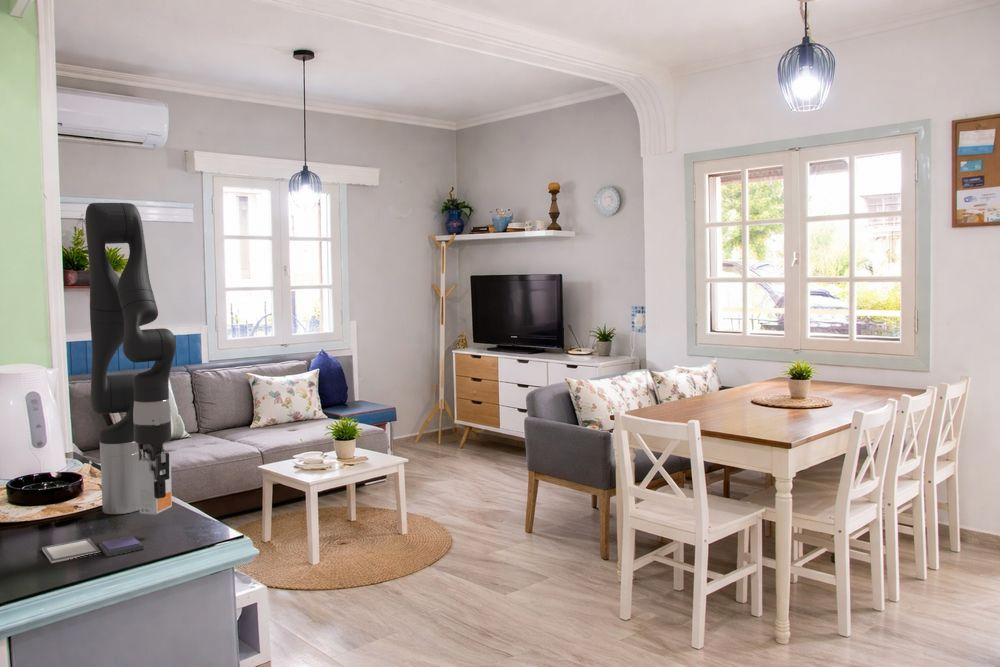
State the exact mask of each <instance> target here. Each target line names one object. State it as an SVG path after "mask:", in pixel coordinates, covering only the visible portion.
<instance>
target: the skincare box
mask: <svg viewBox="0 0 1000 667" xmlns="http://www.w3.org/2000/svg"><path fill="white" fill-rule="evenodd" d="M171 456H172V455H171V454H169V476H170V477H169V479H168V480H165V486H166V496H165V497H164V498H159V499H156V498H155V497H154V480H153V474H152V473H151V472H150V471H149V462H148V460H146V458H144V459H141V460H139V461H138V472H139V510H138V511H139V514H142V515H154V516H155V515H156V516H157V515H158V514H160V513H162V512H164V511H166V510H168V509H171V507H173V505H172V504H173V503H172V500H173V498H172V496H173V495H172V462H171V461H172V460H171ZM152 465H153V467H156V461H152ZM160 475H162V472H161V471H160Z"/></svg>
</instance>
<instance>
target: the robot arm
mask: <svg viewBox="0 0 1000 667" xmlns="http://www.w3.org/2000/svg"><path fill="white" fill-rule="evenodd" d="M84 218H85V220H84V221H85V233H86V234H85V235H86V246H87V256H88V263H89V264H88V266H89V321H90V322H89V323H90V324H89V325H90V336H91V373H90V374H91V377H90V380H91V381H90V402H91V403H90V404H91V407H92V409H93V410H92V411H93V412H94V413H95V414H98V415H109V414H110V415H111V414H122V413H125V415H124V417H123V418H121V420H118V421H117V422H115V423H113V424H111V425H108V426H107V427H104V428H102V429H101V430H100V431H99V453H100V454H99V456H100V457H99V458H100V475H101V476H100V479H101V480H100V481H101V482H100V483H101V502H102V503H101V504H102V512H103V513H104V514H107V515H122V514H129V513H135V512H137V511H139V472H138V461H139V460H141V459H144V458H146V460H148V462H149V471H150V472H151V473H152V474H153V480H154V497H155V498H156V499H159V498H164V497H165V496H166V486H165V480H168V479H169V477H170V476H169V455H170V453H169V452H166V450H165V449H164V443H167V442H169V441H171V439H172V418H171V416H172V415H171V414H172V413H171V412H172V410H171V402H170V387H169V379H170V375H171V374H170V373H171V369H172V365H173V361H174V357H175V354H176V351H177V350H176V349H177V340H176V337H175V334H174V333H173V332H172V331H171V330H170V329H168V328H164V327H163V328H148V329H147V328H145V329H141V328H140V327H142V326H145V325H148V324H151V323H153V322H154V321H155V320H157V319H158V317H159V309H158V306H157V302H156V300H155V295H154V291H153V289H152V284H151V281H150V280H151V279H150V275H149V268H148V258H147V250H146V242H145V234H144V228H143V227H144V226H143V223H142V217H141V214H140V211H139V209H138V207H137V206H136V205H135V204H133V203H131V202H92V203H90V204H88V205H87V207H86V210H85V217H84ZM106 244H127V245H128V248H129V255H128V259H127V262H126V264H125V266H124V268H123V270H122V272H121V274H120V276H119V275H118V274H117V272H116V271H115V269H114V268H113V267H112V264H111V263H110V260H109V259H108V255H107V250H106ZM121 345H122V351H123V352H122V353H123V354H124V357H125V358H126V359H128V361H129V362H132V363H135V364H136V363H147V362H154V363H153V366H151V368H150V369H148V370H145V371H143V372H140V373H138V374H134V373H133V374H132V373H131V374H128V373H127V374H114V375H107V373H108V370H109V367H110V364H111V361H112V359H113V358H114V356H115V355H116V353H117V351H118V350H119V348H120V347H121ZM152 461H156V467H153V465H152ZM160 471H161V472H162V475H160Z"/></svg>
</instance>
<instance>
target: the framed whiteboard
mask: <svg viewBox="0 0 1000 667" xmlns="http://www.w3.org/2000/svg"><path fill="white" fill-rule="evenodd" d="M41 550H42V552H43V553H44V555H45V556H46V558H47V559H48V561H49V562H50V563H51V564H54V563H61V562H64V561H69V559H70V560H74V559H73V558H75V559H78V558H77V557H80V556H84V555H88V554H93V553H98V552H101V550H100V549H99V546H97V545H96V544H95V543H94V542H93V541H92V540H91V538H90V537H87V538H83V539H77V540H72V541H68V542H67V541H66V542H61V543H57V544H51V545H47V546H42V547H41ZM84 557H85V556H84ZM80 558H81V557H80Z"/></svg>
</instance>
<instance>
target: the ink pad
mask: <svg viewBox="0 0 1000 667" xmlns="http://www.w3.org/2000/svg"><path fill="white" fill-rule="evenodd" d="M99 548H100V549H101V550H102V551H103V552H104V553H105V554H106V555H107V556H110V555H115V554H120V555H122V554H121V553H125V552H129V551H134V550H139V549H144V544H143V543H142V542H141V541H140V540H138V539H137V538H136V537H135V536H133V535H129V536H125V537H124V536H123V537H119V538H115V539H109V540H104V541H101V542H100V543H98V549H99ZM100 549H99V550H100ZM101 550H100V551H101ZM102 551H101V552H102ZM139 551H140V550H139ZM103 552H102V553H103ZM134 552H135V551H134ZM104 553H103V554H104ZM105 554H104V555H105ZM125 554H126V553H125ZM106 555H105V556H106ZM107 556H106V557H107Z"/></svg>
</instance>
